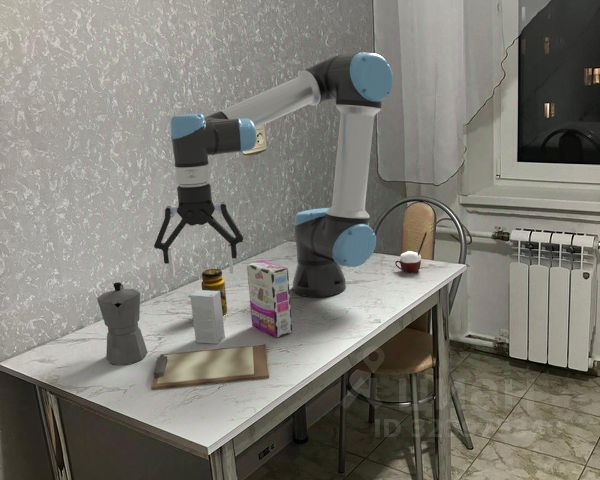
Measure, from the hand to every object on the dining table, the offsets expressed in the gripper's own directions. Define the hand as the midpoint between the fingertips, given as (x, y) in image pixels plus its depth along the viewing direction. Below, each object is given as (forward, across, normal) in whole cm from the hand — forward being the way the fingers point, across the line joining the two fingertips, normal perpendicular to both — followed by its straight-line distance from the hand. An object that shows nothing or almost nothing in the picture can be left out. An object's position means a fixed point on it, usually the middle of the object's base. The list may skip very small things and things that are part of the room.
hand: (202, 274), depth 153 cm
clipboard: (+17, +1, -15) cm, 22 cm away
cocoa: (+16, +59, +38) cm, 72 cm away
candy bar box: (+17, +15, +3) cm, 23 cm away
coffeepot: (+17, -19, -4) cm, 25 cm away
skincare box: (+17, 0, 0) cm, 17 cm away
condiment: (+17, 0, +17) cm, 24 cm away
